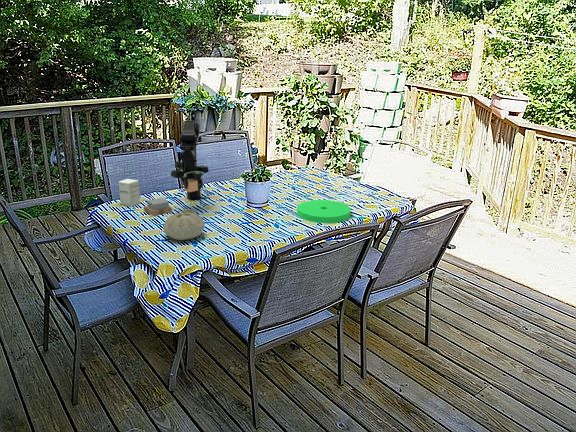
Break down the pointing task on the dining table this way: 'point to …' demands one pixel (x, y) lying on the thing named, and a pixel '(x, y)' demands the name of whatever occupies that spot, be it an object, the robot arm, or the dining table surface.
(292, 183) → the dining table surface
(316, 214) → the disc
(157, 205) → the grey square block
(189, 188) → the terracotta cube
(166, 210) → the walnut slab
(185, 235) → the decorative shell
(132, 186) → the supplement box
